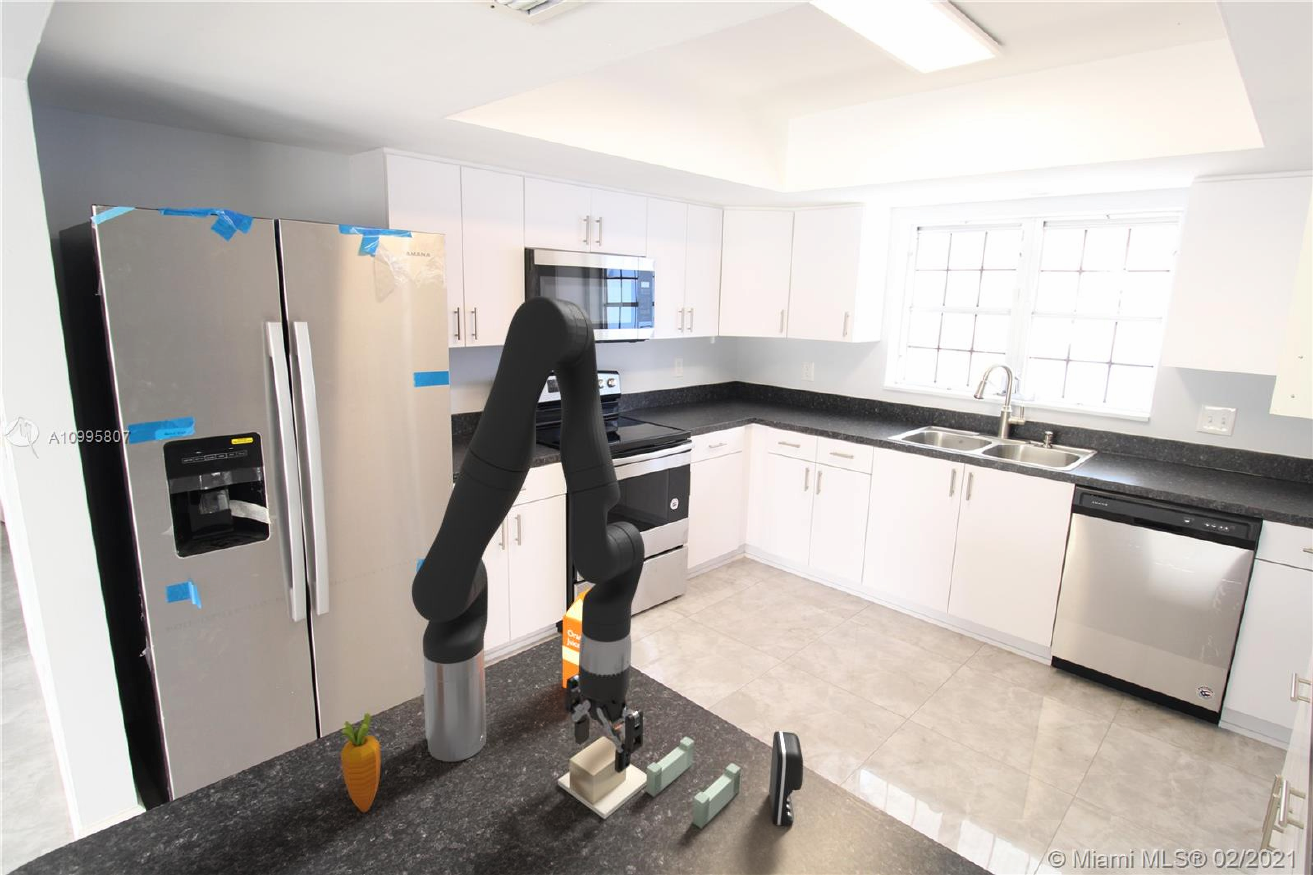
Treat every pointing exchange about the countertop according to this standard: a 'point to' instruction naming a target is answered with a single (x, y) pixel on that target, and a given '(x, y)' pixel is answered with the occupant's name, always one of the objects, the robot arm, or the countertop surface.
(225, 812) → the countertop surface
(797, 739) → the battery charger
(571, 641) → the orange juice
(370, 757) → the carrot
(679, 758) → the rails
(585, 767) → the block
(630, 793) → the plate
